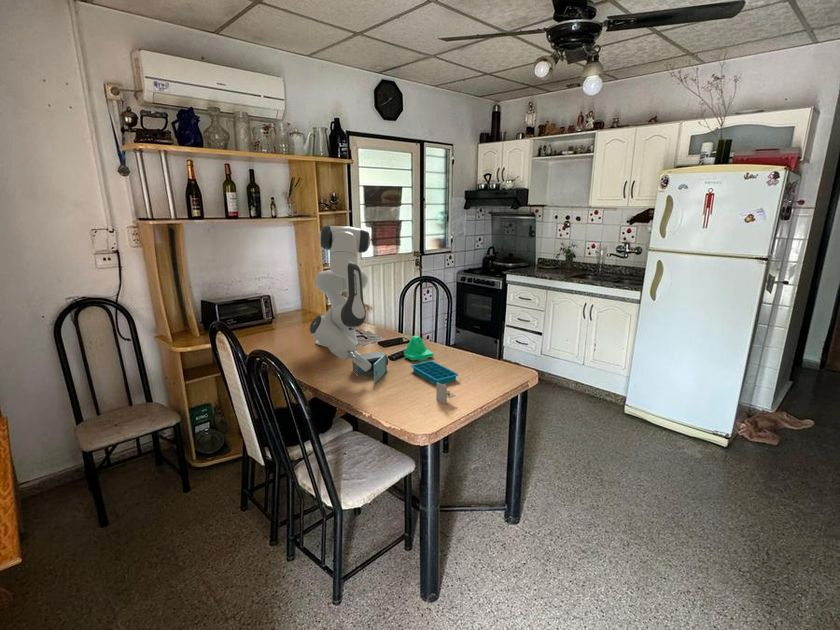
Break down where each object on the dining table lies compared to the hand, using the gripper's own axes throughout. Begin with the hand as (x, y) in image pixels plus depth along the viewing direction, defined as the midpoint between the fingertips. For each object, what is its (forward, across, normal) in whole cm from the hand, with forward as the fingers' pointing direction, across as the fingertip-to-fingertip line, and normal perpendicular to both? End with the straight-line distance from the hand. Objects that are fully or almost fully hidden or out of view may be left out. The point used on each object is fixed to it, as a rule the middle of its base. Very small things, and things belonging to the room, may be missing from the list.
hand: (369, 367), depth 177 cm
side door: (+9, +2, 0) cm, 9 cm away
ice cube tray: (+24, -6, -14) cm, 28 cm away
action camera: (+8, +11, +1) cm, 14 cm away
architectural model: (+18, -29, -8) cm, 35 cm away
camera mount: (+27, +18, -18) cm, 37 cm away
